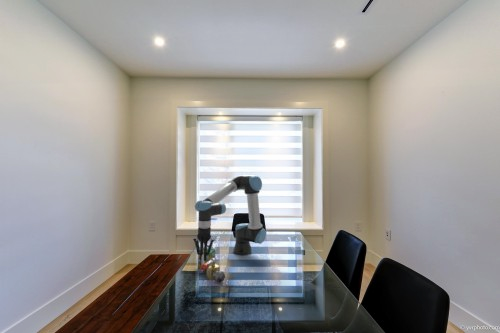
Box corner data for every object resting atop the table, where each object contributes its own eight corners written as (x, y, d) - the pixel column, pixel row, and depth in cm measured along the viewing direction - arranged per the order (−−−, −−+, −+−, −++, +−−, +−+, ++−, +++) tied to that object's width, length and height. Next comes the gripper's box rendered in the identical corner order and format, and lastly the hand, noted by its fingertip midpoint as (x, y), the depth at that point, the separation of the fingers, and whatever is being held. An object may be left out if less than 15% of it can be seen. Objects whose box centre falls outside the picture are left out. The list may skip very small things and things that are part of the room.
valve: (201, 273, 146) (201, 260, 146) (210, 270, 150) (210, 257, 150) (215, 284, 132) (216, 269, 132) (225, 281, 136) (225, 266, 136)
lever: (212, 261, 143) (212, 257, 143) (217, 262, 142) (217, 258, 142) (199, 270, 130) (199, 265, 130) (204, 271, 129) (204, 267, 129)
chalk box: (197, 268, 152) (197, 247, 153) (203, 263, 161) (203, 243, 161) (209, 270, 150) (209, 248, 150) (215, 265, 159) (215, 244, 159)
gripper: (192, 228, 131) (190, 267, 131) (212, 229, 130) (211, 269, 130) (196, 224, 139) (195, 262, 139) (216, 226, 137) (215, 264, 137)
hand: (203, 266), depth 134 cm, fingers closed
